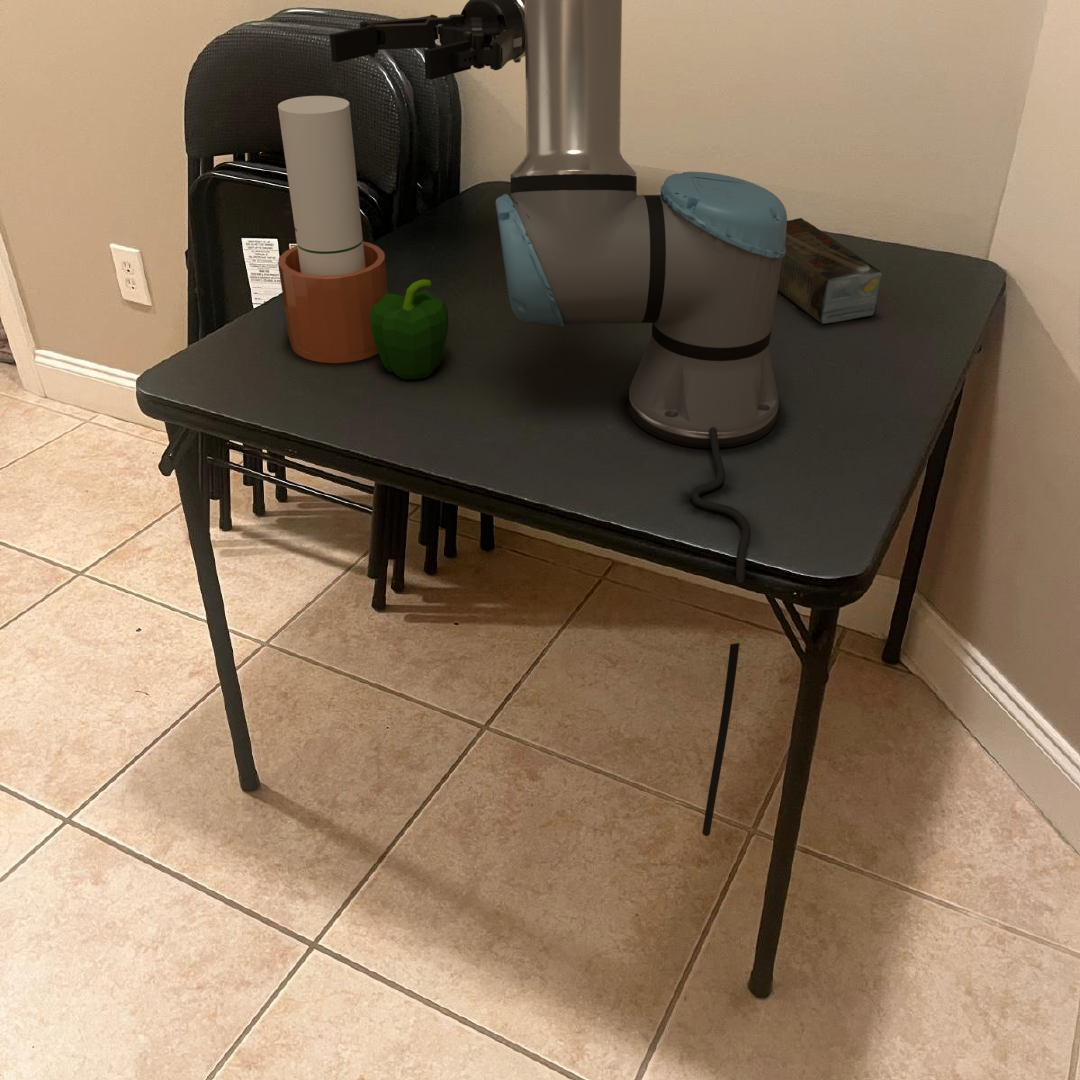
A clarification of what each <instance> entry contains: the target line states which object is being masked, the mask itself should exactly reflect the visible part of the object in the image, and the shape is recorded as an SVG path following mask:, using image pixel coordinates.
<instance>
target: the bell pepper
mask: <svg viewBox="0 0 1080 1080" xmlns="http://www.w3.org/2000/svg"><path fill="white" fill-rule="evenodd" d="M431 286H432V281H431V280H430V279H427V278H426V279H424V278H422V279H420V280H416V281H414V282H412V283H411V284H410V285H409V287H408V288H406V292H405V296H402V295H399V294H395V293H390V292H388V293H387V294H386V295H385V296H384V297H383V298H382V299H381V300H380V301H379V302H378V303H377V304H375V305H373V307H372V310H371V312H370V324H371V332H372V335H373V338H374V341H375V344H376V348H377V350H378V353H379V354H378V355H379V358H380V360H381V363H382V365H383V367H384V368H385V369H386V370H387V371H388V372H391V373H394V374H395V375H396V376H397V377H400V379H402V380H418V379H419V380H420V379H424V378H428V377H429V376H431V374H433V372H435V369H436V368H438V367H439V365H440V363H441V362H442V359H443V357H444V352H445V348H446V343H447V336H448V331H449V309H448V306H447V304H446V303H445V301H444V299H438V298H437V297H436V296H435V295H433V294H432V293H431V292H430V291H429V288H431ZM422 289H426V290H422ZM419 290H422V291H419Z"/></svg>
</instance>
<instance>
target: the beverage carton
mask: <svg viewBox="0 0 1080 1080" xmlns="http://www.w3.org/2000/svg"><path fill="white" fill-rule="evenodd" d="M785 247H786V254H785V256H784V257H783V259H782V266H781V272H780V279H779V285H778V292H780V293H781V294H782V295H784V296H785V297H786V298H787V299H789V300H790V301H791V302H792V303H794V304H795V305H797V307H799V308H800V309H802V310H803V311H804V312H805V313H806V314H808V315H809V316H810V317H812V318H813V319H815V320H816V321H817V322H818V323H820V324H821V325H826V324H832V323H839V322H845V321H850V320H854V319H859V318H866V317H871V316H874V315H875V311H876V305H877V303H878V296H879V289H880V284H881V280H882V276H883V274H882V273H883V272H882V271H881V270H879V269H878V268H877V267H875V266H874V265H873V264H871V263H869V262H867V261H866V260H865V259H864V258H862V257H861V256H859V255H858V254H856V253H855V252H854V251H852V250H850V249H849V248H848V247H846V246H844V245H843V244H842V243H840V242H838V241H837V240H836V239H834V238H833V237H831V236H830V235H828V234H827V233H825V232H824V231H822V230H821V229H819V228H818V227H817V226H815V225H813V224H812V223H810V222H809V221H807V220H805V219H803V218H802V217H799V218H795V219H790V220H789V219H787V227H786V242H785Z"/></svg>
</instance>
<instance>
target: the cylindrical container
mask: <svg viewBox="0 0 1080 1080" xmlns="http://www.w3.org/2000/svg"><path fill="white" fill-rule="evenodd" d="M350 105H351V104H350V102H349V101H348V100H347V99H346V98H342V97H338V96H331V95H308V96H307V95H306V96H298V97H293V98H289V99H286V100H283V101H281V102H279V103H278V105H277V110H278V117H279V118H278V119H279V124H280V132H281V139H282V146H283V154H284V161H285V167H286V174H287V175H286V176H287V182H288V190H289V198H290V204H291V211H292V218H293V225H294V232H295V241H296V246H297V248H298V255H299V262H300V270H301V273H303V274H308V275H321V276H329V275H342V274H348V273H353V272H356V271H359V270H362V269H365V268H366V267H365V257H364V246H363V241H364V239H363V238H364V237H363V227H362V218H361V217H362V216H361V209H360V197H359V196H360V195H359V187H358V177H357V168H356V157H355V147H354V145H355V144H354V137H353V126H352V117H351V106H350Z"/></svg>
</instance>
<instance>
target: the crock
mask: <svg viewBox="0 0 1080 1080" xmlns="http://www.w3.org/2000/svg"><path fill="white" fill-rule="evenodd" d="M363 246H364V257H365V267H366V268H365V269H362V270H359V271H356V272H353V273H348V274H342V275H329V276H321V275H308V274H303V273H301V270H300V262H299V255H298V248H297V245H295V246H293V247H290V248H289V249H287V250H285V251H283V252H282V254H281V255H280V256H279V257H278V261H277V266H278V267H277V268H278V272H279V273H278V274H279V280H280V286H281V292H282V293H281V294H282V299H283V306H284V313H285V319H286V326H287V332H288V339H289V342H290V348H291V350H292V351H293V352H294V353H295V354H296V355H297V356H299V357H300V358H303V359H304V360H308V361H311V362H314V363H315V362H317V363H321V364H322V363H324V364H347V363H353V362H359V361H363V360H367V359H369V358H372V357H374V356H377V355H379V353H378V350H377V348H376V344H375V341H374V338H373V335H372V332H371V324H370V312H371V310H372V307H373V305H375V304H377V303H378V302H379V301H380V300H381V299H382V298H383V297H384V296H385V295H386V294H387V293H389V290H388V289H389V288H388V279H387V278H388V277H387V266H386V255H385V251H384V250H383V249H382V248H380V247H379V246H378V245H376V244H373V243H371V242H368V241H364V240H363Z"/></svg>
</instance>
